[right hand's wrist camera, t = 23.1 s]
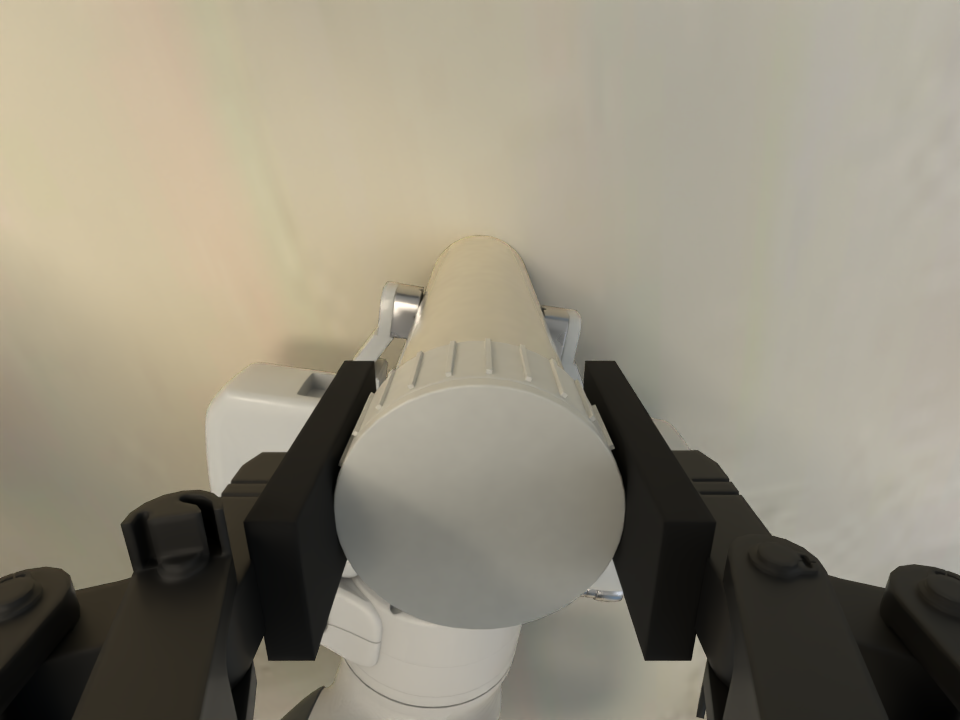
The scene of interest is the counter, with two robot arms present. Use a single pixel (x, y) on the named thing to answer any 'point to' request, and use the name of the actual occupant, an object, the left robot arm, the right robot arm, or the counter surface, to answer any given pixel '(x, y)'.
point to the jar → (479, 301)
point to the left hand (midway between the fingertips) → (482, 298)
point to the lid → (479, 488)
